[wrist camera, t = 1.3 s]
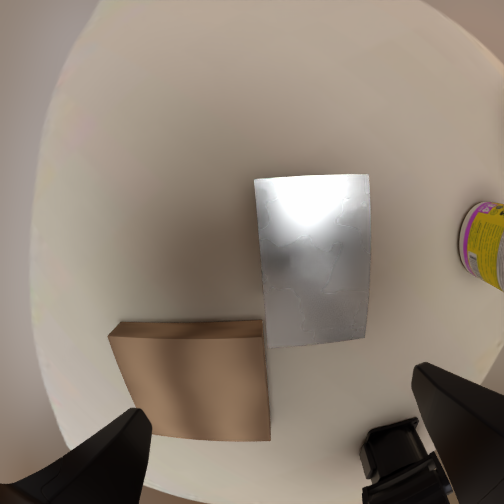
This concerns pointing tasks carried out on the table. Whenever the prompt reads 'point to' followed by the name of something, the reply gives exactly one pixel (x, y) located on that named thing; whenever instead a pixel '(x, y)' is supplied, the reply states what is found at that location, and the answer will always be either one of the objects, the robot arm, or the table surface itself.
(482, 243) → the supplement bottle
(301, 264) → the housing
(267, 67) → the table surface
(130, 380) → the walnut stand
